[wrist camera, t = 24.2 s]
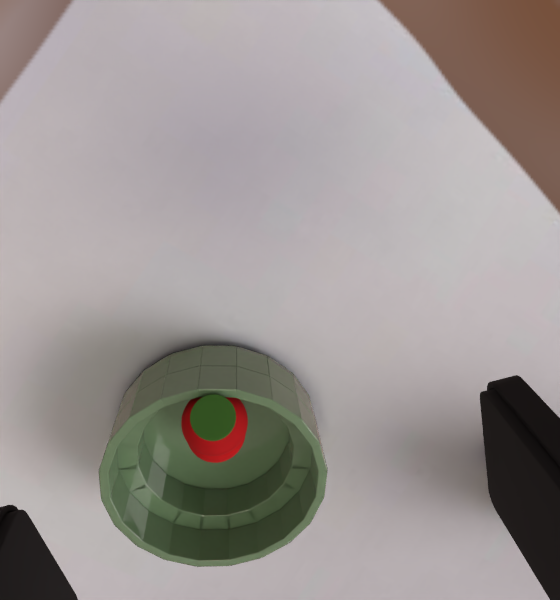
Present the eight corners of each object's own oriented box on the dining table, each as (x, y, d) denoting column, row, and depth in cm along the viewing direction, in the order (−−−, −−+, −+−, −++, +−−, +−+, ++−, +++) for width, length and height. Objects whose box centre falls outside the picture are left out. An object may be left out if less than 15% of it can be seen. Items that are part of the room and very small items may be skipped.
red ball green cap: (197, 472, 37) (192, 468, 33) (182, 417, 38) (176, 407, 34) (252, 454, 38) (254, 448, 34) (236, 400, 39) (236, 388, 35)
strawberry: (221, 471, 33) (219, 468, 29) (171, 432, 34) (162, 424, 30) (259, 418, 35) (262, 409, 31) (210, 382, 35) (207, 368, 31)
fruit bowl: (157, 520, 42) (146, 587, 37) (87, 371, 37) (61, 424, 31) (331, 475, 42) (346, 536, 36) (287, 318, 36) (297, 362, 31)
